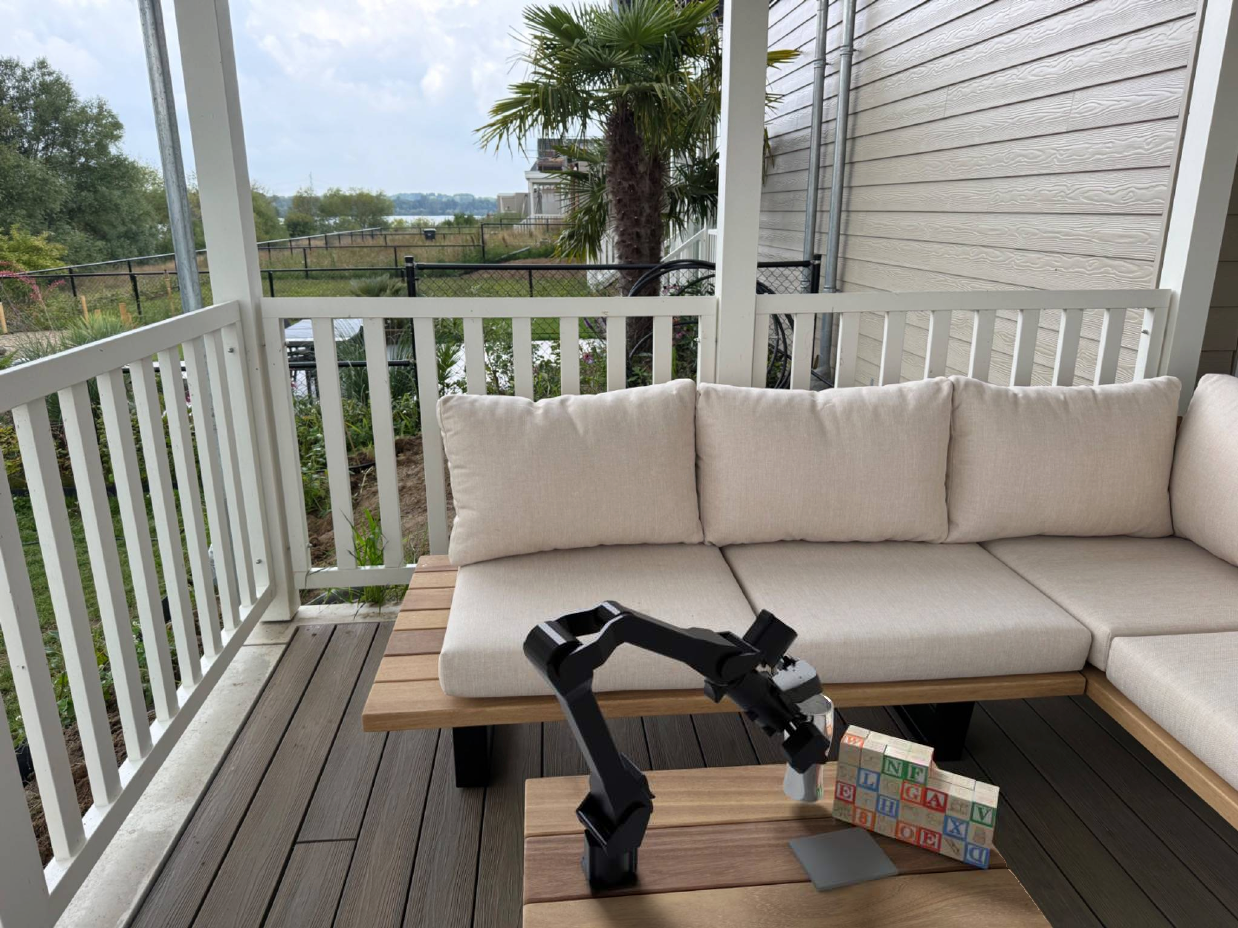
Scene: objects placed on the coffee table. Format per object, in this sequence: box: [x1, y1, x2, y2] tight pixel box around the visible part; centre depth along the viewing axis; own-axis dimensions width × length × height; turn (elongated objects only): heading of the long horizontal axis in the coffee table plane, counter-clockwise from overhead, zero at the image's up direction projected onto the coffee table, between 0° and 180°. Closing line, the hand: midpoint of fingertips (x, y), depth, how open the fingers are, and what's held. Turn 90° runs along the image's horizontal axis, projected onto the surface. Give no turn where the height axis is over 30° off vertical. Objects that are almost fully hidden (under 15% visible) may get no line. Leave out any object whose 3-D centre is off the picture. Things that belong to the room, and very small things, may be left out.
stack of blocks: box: [831, 724, 1000, 870], centre depth 116 cm, size 21×6×12 cm, turn 61°
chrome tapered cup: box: [782, 693, 835, 804], centre depth 120 cm, size 7×7×15 cm
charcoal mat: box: [787, 826, 899, 892], centre depth 112 cm, size 12×9×1 cm
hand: (814, 748), depth 120 cm, fingers closed on chrome tapered cup, 6 cm apart
